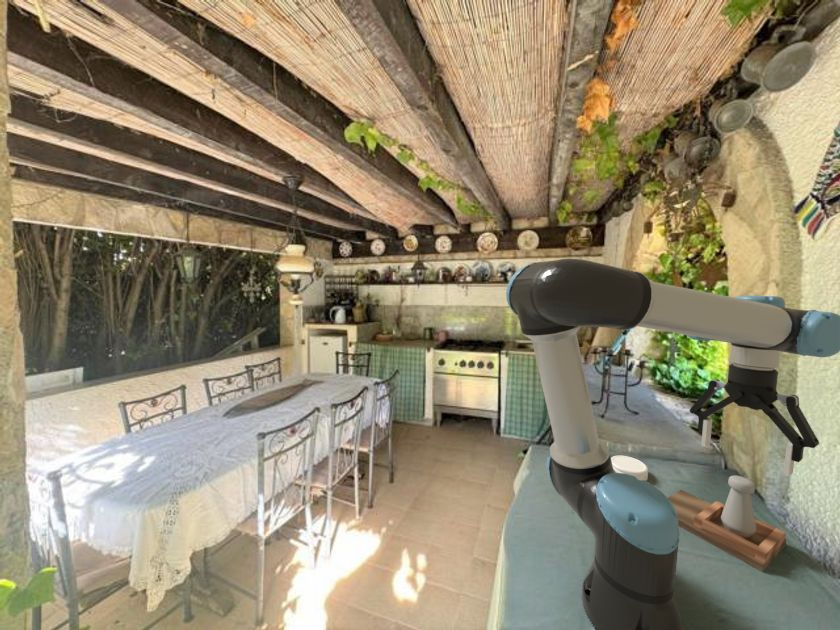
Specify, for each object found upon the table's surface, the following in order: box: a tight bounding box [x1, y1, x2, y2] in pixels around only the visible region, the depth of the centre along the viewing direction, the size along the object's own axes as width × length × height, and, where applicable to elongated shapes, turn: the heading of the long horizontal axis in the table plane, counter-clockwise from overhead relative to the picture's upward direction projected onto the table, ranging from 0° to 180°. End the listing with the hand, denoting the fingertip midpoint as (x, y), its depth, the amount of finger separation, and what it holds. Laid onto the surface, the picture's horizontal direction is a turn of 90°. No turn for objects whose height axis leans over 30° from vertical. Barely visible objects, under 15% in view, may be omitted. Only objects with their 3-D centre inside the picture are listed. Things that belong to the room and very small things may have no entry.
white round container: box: [611, 455, 649, 482], centre depth 100 cm, size 10×10×4 cm
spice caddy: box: [667, 489, 787, 573], centre depth 78 cm, size 14×20×4 cm
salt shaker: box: [721, 475, 756, 539], centre depth 74 cm, size 6×6×13 cm
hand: (743, 458), depth 72 cm, fingers open, 13 cm apart
